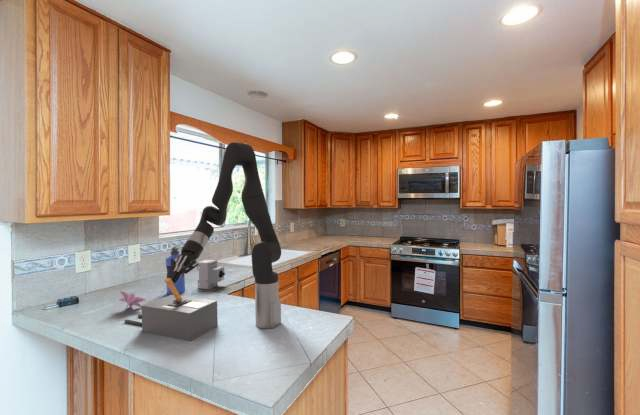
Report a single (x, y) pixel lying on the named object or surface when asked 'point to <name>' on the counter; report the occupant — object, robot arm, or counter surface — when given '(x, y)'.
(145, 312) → the box
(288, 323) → the counter surface
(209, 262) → the circuit breaker
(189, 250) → the robot arm
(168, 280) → the breaker lever
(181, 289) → the water bottle
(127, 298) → the lily
